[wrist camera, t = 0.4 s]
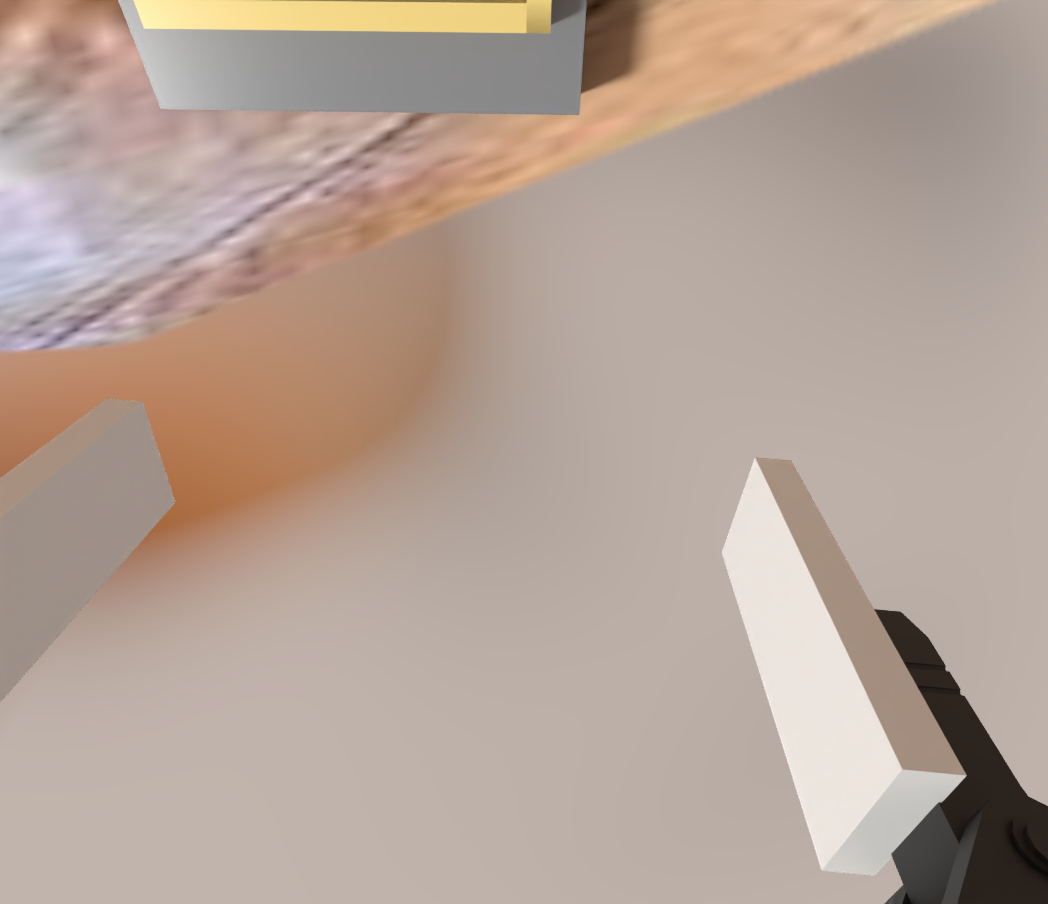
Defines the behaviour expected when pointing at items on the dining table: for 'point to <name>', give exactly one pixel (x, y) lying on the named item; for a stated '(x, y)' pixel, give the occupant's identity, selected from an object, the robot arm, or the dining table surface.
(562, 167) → the dining table surface
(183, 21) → the dock
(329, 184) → the dining table surface
